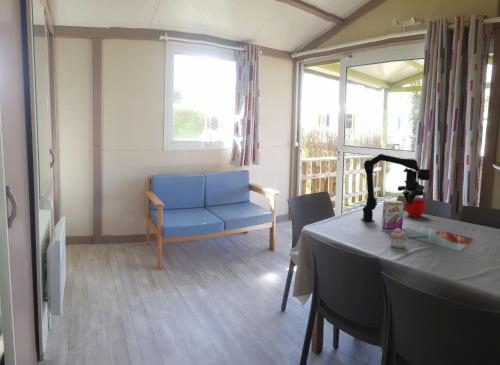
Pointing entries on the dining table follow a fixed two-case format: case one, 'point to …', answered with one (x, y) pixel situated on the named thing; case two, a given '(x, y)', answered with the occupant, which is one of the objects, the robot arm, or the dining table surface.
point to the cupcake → (398, 238)
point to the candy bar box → (392, 214)
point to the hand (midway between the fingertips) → (409, 204)
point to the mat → (406, 232)
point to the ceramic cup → (415, 208)
